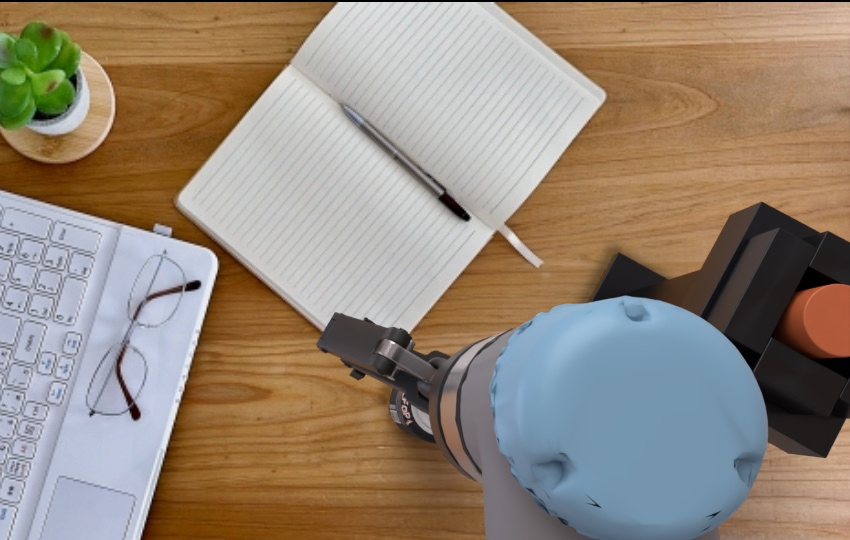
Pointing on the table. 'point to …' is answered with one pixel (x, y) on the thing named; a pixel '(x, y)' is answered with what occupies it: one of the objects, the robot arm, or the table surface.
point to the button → (817, 322)
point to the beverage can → (410, 417)
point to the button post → (761, 315)
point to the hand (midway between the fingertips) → (446, 410)
